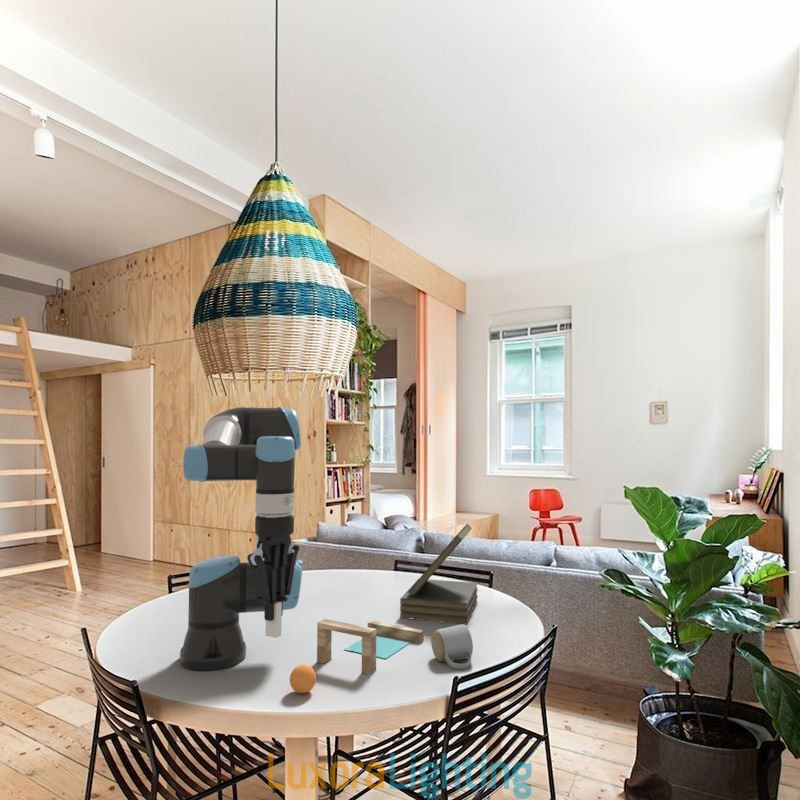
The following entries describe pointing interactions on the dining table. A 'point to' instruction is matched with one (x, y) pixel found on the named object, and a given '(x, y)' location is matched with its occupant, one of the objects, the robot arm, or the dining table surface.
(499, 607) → the dining table surface
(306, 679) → the ball
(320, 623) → the bridge
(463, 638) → the ceramic mug
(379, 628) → the stopper
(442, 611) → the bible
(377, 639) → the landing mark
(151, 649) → the dining table surface
